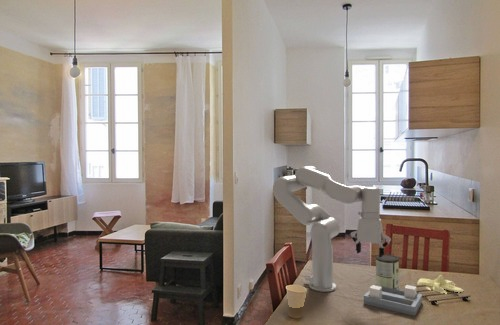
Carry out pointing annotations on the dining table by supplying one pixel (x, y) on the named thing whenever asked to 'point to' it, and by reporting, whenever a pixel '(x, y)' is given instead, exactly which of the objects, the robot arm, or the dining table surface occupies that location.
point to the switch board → (395, 301)
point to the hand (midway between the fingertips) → (369, 254)
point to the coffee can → (387, 271)
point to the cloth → (439, 285)
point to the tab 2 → (410, 291)
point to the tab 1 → (375, 291)
